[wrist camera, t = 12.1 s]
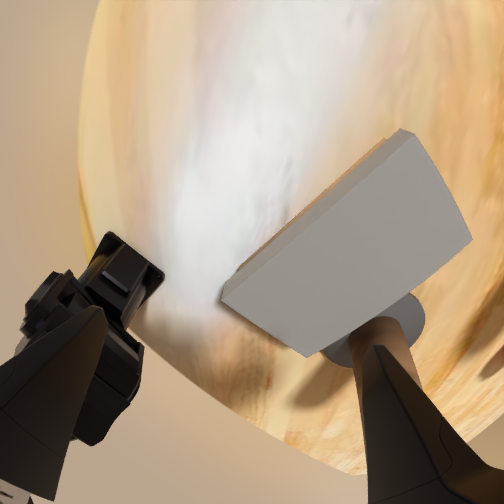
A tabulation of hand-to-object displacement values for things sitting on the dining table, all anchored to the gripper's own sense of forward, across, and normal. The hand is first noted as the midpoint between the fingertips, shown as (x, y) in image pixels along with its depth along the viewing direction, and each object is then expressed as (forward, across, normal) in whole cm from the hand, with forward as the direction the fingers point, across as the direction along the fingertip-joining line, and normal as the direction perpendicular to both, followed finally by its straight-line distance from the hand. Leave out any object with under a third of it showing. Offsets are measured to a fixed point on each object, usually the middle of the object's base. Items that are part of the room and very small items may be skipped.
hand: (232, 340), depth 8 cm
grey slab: (+13, -7, +3) cm, 15 cm away
